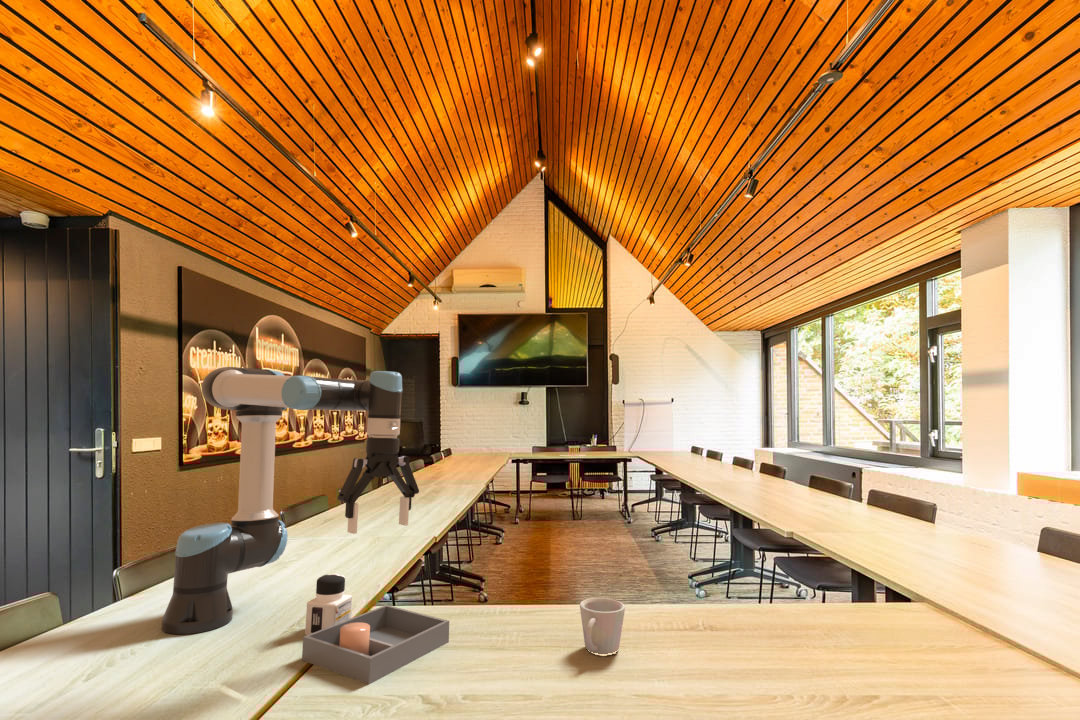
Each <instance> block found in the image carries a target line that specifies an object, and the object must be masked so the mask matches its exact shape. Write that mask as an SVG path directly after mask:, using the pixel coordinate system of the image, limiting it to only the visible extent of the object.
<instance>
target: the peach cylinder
mask: <svg viewBox="0 0 1080 720" xmlns="http://www.w3.org/2000/svg"><path fill="white" fill-rule="evenodd" d="M369 639H370V625H369V624H367V623H361V622H357V623H350V624H346V625H344V626H342V627H341V628H340V644H339V646H341V647H344V648H347V649H350V650H353V651H356V652H359V653H362V654H365V655H368V656H369Z"/></svg>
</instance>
